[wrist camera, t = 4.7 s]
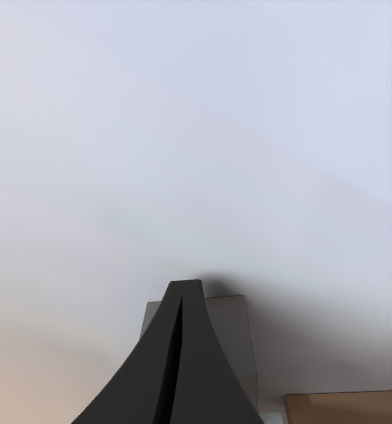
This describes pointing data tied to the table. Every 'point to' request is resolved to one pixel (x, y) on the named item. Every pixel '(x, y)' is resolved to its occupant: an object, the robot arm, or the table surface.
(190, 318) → the robot arm
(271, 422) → the flap
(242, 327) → the tall grey block
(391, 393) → the doorway frame
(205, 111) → the table surface
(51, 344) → the table surface
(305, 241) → the table surface
